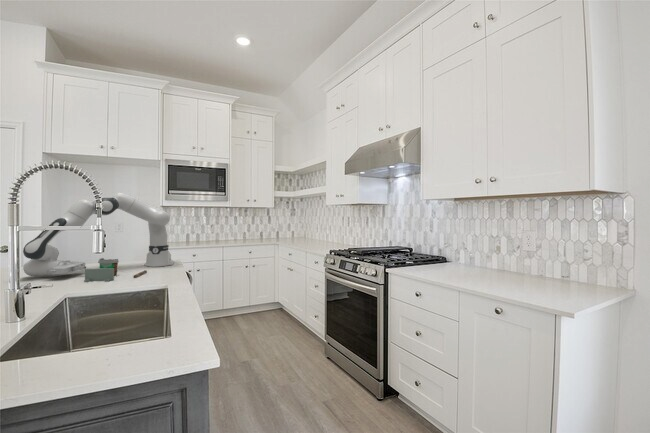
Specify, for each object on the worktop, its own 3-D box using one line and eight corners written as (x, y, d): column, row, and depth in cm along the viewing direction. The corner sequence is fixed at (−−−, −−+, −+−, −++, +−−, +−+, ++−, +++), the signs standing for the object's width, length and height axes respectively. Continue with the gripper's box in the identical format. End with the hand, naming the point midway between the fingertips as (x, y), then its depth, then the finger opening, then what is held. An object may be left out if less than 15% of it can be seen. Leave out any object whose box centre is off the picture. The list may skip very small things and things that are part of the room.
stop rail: (144, 272, 198) (144, 270, 198) (146, 272, 198) (146, 270, 198) (133, 278, 182) (133, 275, 182) (135, 278, 182) (135, 275, 182)
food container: (92, 276, 186) (92, 259, 186) (102, 274, 192) (102, 257, 192) (108, 277, 182) (108, 260, 182) (118, 275, 188) (118, 258, 188)
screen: (86, 280, 174) (86, 268, 174) (114, 280, 177) (114, 268, 176) (82, 282, 171) (82, 270, 171) (110, 281, 173) (110, 269, 173)
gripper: (45, 265, 173) (73, 265, 175) (69, 260, 193) (94, 259, 195) (45, 277, 173) (73, 276, 175) (69, 270, 193) (94, 270, 195)
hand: (84, 267), depth 185 cm, fingers closed
